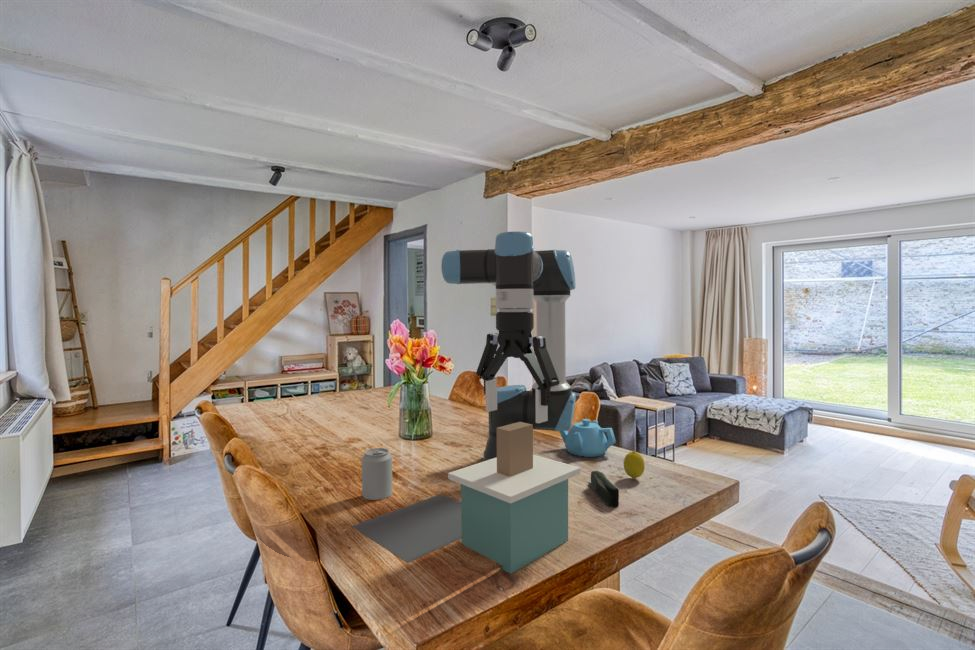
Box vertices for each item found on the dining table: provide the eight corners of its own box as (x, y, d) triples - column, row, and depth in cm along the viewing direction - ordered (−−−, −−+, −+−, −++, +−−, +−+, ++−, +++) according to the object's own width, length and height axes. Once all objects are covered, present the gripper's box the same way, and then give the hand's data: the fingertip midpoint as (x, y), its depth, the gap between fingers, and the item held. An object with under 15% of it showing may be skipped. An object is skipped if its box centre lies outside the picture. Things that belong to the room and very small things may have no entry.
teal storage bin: (461, 547, 96) (461, 478, 96) (519, 520, 108) (519, 458, 108) (510, 573, 87) (510, 497, 86) (568, 540, 99) (568, 473, 98)
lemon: (645, 483, 130) (645, 454, 130) (624, 482, 131) (624, 453, 131) (643, 476, 135) (643, 448, 135) (622, 475, 137) (623, 447, 136)
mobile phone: (621, 488, 115) (596, 466, 130) (609, 489, 114) (585, 466, 129) (621, 508, 115) (595, 484, 130) (609, 509, 115) (585, 484, 129)
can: (366, 505, 117) (365, 457, 116) (359, 495, 124) (358, 449, 123) (396, 499, 120) (395, 452, 120) (387, 489, 127) (387, 444, 127)
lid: (448, 478, 96) (447, 428, 95) (518, 455, 110) (518, 411, 110) (510, 503, 84) (510, 445, 83) (580, 473, 98) (580, 424, 98)
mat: (351, 529, 104) (351, 526, 104) (441, 497, 122) (441, 493, 122) (407, 566, 89) (407, 562, 89) (500, 523, 107) (500, 519, 107)
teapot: (573, 461, 149) (573, 426, 149) (555, 447, 164) (555, 416, 164) (618, 457, 153) (618, 423, 153) (596, 444, 168) (596, 413, 167)
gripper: (459, 310, 102) (460, 409, 103) (552, 311, 84) (553, 431, 85) (484, 309, 107) (485, 403, 108) (577, 310, 89) (577, 423, 91)
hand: (515, 416), depth 97 cm, fingers open, 13 cm apart
